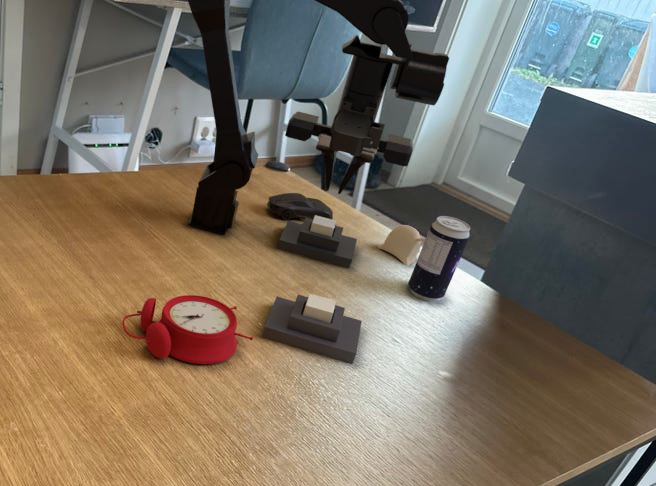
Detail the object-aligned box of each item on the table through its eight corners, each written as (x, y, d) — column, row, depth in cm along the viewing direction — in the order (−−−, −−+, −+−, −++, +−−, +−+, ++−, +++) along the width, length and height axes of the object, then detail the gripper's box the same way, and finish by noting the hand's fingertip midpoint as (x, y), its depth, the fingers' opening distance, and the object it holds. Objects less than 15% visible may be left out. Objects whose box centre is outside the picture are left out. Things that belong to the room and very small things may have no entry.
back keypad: (276, 249, 114) (282, 229, 113) (285, 229, 122) (290, 210, 120) (349, 269, 113) (355, 249, 111) (354, 247, 120) (360, 229, 118)
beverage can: (444, 306, 107) (475, 235, 100) (407, 298, 107) (436, 226, 101) (440, 290, 112) (470, 220, 105) (404, 281, 112) (432, 211, 105)
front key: (302, 316, 91) (305, 305, 90) (306, 304, 94) (309, 293, 93) (329, 324, 91) (333, 313, 90) (332, 311, 93) (336, 300, 92)
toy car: (333, 225, 127) (340, 205, 125) (270, 220, 124) (275, 199, 122) (323, 212, 131) (329, 192, 129) (262, 206, 129) (267, 186, 127)
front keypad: (261, 337, 91) (267, 314, 89) (273, 306, 99) (279, 284, 97) (352, 364, 89) (360, 341, 87) (358, 330, 97) (366, 309, 95)
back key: (309, 232, 114) (312, 222, 113) (312, 224, 117) (315, 214, 116) (331, 238, 114) (334, 228, 113) (333, 230, 117) (336, 220, 116)
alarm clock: (261, 341, 83) (145, 315, 78) (240, 382, 87) (126, 360, 81) (236, 296, 92) (129, 269, 86) (217, 335, 95) (112, 311, 89)
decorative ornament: (392, 245, 124) (402, 216, 121) (428, 267, 118) (440, 238, 115) (376, 247, 122) (386, 219, 119) (412, 270, 116) (423, 241, 113)
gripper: (293, 86, 98) (267, 192, 106) (427, 118, 95) (389, 225, 104) (304, 72, 107) (279, 171, 116) (427, 101, 104) (392, 200, 113)
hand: (333, 191), depth 112 cm, fingers closed
